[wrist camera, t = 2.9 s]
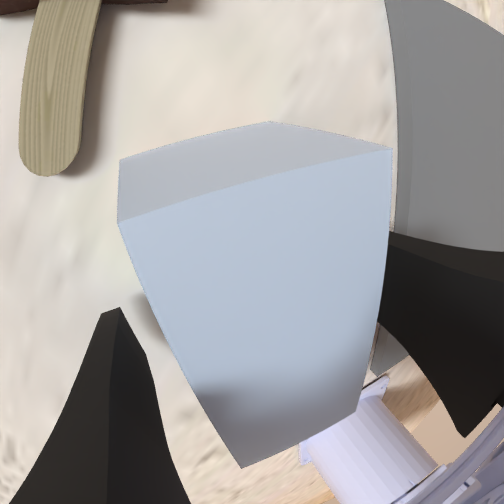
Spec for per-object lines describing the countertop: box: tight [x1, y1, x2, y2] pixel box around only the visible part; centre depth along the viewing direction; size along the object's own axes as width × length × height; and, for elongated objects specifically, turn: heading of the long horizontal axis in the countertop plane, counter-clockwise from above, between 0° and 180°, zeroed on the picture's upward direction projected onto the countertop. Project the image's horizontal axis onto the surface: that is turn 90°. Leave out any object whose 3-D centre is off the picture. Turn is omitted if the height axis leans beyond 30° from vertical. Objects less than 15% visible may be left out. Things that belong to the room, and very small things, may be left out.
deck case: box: [117, 121, 392, 469], centre depth 8 cm, size 9×4×5 cm, turn 9°
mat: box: [370, 0, 504, 377], centre depth 15 cm, size 22×18×1 cm
